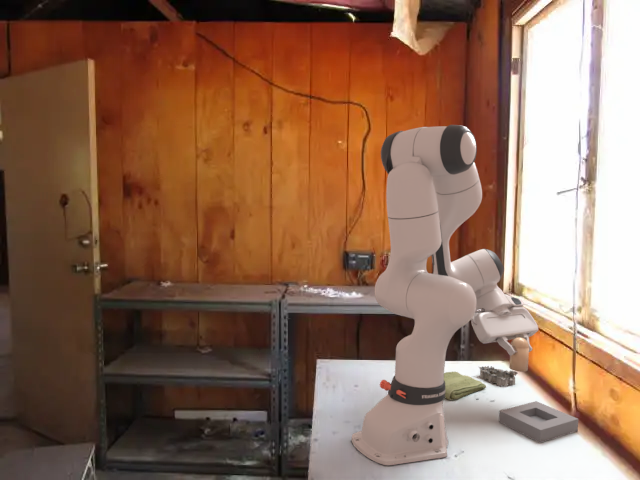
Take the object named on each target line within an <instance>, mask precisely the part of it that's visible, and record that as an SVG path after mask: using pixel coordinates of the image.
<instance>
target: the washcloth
mask: <svg viewBox="0 0 640 480" xmlns="http://www.w3.org/2000/svg"><path fill="white" fill-rule="evenodd" d="M444 381H445V391H446V392H445V398H444V399H446V400H448V401H455V400H458V399H462V398H463V397H467V396H468V395H471V394H474V393H475V392H478V391H482V390H483V389H486V388H487V385H486V384H485V383H483V382H482V381H480V380H477V379H475V378H473V377H472V376H469V375H466V374H465V375H464V374H462V373H460V372H458V371H446V372H444ZM466 395H467V396H466Z"/></svg>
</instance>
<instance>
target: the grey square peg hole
mask: <svg viewBox="0 0 640 480" xmlns="http://www.w3.org/2000/svg"><path fill="white" fill-rule="evenodd" d="M498 423H499V424H502V425H504V426H506V427H508V428H510V429H512V430H514V431H515V432H517V433H520V434H522V435H524V436H526V437H528V438H530V439H532V440H534V441H536V442H538V443H543V442H547V441H549V440H553V439H556V438H559V437H563V436H566V435H570V434H572V433H574V432H578V430H579V418H577V417H575V416H573V415H570V414H568V413H565V412H564V411H560V410H559V409H556V408H553V407H551V406H549V405H546V404H544V403H541V402H539V401H537V400H535V401H532V402H528V403H524V404H520V405H519V404H518V405H516V406H512V407H509V408H504V409H500V410H499V411H498Z"/></svg>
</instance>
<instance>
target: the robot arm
mask: <svg viewBox="0 0 640 480" xmlns="http://www.w3.org/2000/svg"><path fill="white" fill-rule="evenodd" d="M380 149H381V150H380V159H381V164H382V166H383V168H384V171H386V173H387V178H386V192H385V194H386V195H385V196H386V212H387V213H386V214H387V220H388V221H387V222H388V229H389V230H388V231H389V241H390V255H389V260H388V264H387V266H386V269H385V270H384V271H383V272H382V273H381V274H380V275H379V277H378V278H377V280H376V282H375V285H374V298H375V300H376V302H377V304H378V305H379V306H380V307H381V308H383V309H385V310H387V311H388V312H390V313H392V314H394V315H398V316H401V317H405V318H409V319H413V320H414V324H413V325H414V327H413V329H412V332H411V334H409V335H407V336H405V337H403V338H401V340H400V341H399V342H397V345H396V347H395V362H394V363H395V365H394V367H395V368H394V369H395V370H394V376H393V378H392V380H391V382H390V381H387V380H386V379H382V380H380V382H379V387H380V388H381V389H383V390H384V391H387V394H386V395H385V396H384V397H383V398H382V399H380V400H379V401H378V402H377V404H375V406H373V407H372V408H371V409H370V410H369V411H367V413H366V414H365V415H364V419H363V421H362V427H361V428H362V429H361V430H360V431H356V432H355V433H353V434H351V443H352V445H353V447H355V449H357V451H359V452H360V453H361V454H362V455H363V456H365V457H366V458H368V459H370V460H371V461H373V462H374V463H377V464H380V465H384V466H393V465H400V464H407V463H414V462H415V463H416V462H419V461H420V462H421V461H422V462H423V461H427V460H434V459H441V458H446V457H448V449H447V447H448V446H449V439H448V435H447V430H446V423H445V422H446V421H445V411H444V410H445V409H444V400H445V399H446V398H445V392H446V391H445V381H444V373H445V367H446V356H447V349H448V346H449V344H450V341H451V339H452V337H454V335H455V333H456V332H457V331H458V330H459V329H461V328H462V327H464V326H465V325H467V324H468V323H469V322H470V321H471V323H470V324H471V326H472V328H473V331H474V333H475V335H476V337H477V339H478V340H479V342H480V343H482V344H490V343H498V345H499V346H500V347H501V348H503V349H504V350H505V351H506V352H507V353H508V355H509V356H510V355H515V354H516V353H517V350H516V348H515V346H512V345H511V342H508V341H510V340H511V341H512V340H513V339H515V338H517V337H521V338H524V339H525V340H526V341H527V342H528V344H529V353H530V352H532V351H533V347H532V346H531V344H530V337H532V336H534V335H535V334H536V333H537V332H538V331H539V325H538V324H537V322H536V320H535V318H534V317H533V315H532V314H531V313H530V312H529V311H530V310H528V308H526V307H523V306H524V305H525V303H524V302H523V300H522V299H521V298H519V297H515V296H511V295H509V294H506V293H504V291H503V289H501V288H500V287H499V286H498V283H499V282H500V281H501V279H502V277H503V274H504V271H505V267H504V265H503V263H502V260H501V259H500V258H499V256H498V255H497V254H496V253H495V252H494V251H493V250H490V249H486V248H482V249H479V250H478V249H477V250H476V251H473V252H471V253H468V254H466V255H464V256H462V257H460V258H458V259H456V260H453V261H451V253H450V239H451V237H452V236H453V234H454V233H455V231H456V230H457V229H458V228H460V227H461V225H462V224H464V222H466V221H468V219H470V217H472V216H474V214H475V213H476V211H477V210H478V209H479V207H480V205H481V203H482V199H483V189H482V183H481V180H480V176H479V173H478V168H477V166H476V163H475V161H476V157H477V150H478V148H477V140H476V138H475V135H474V133H473V132H472V131H471V130H470V129H469V128H468V127H467V126H464V125H461V124H459V125H458V124H449V125H447V126H445V125H444V126H441V125H440V126H438V125H437V126H422V127H415V128H411V129H407V130H399V131H396V132H393V133H391V134H389V135H388V136H387V137H385V139H384V141H383V143H382V146H381V148H380ZM430 257H431V264H432V273H431V272H430V273H429V272H428V270H427V264H428V263H427V262H428V258H430Z"/></svg>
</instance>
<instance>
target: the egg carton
mask: <svg viewBox="0 0 640 480" xmlns="http://www.w3.org/2000/svg"><path fill="white" fill-rule="evenodd" d="M478 368H479V372H480V373H479V378H480V379H482V380H488V382H489V383H495V384H496V385H497V386H498V387H505V388H506V387H508V385H511V386H515V385H516V377H515V376H517V375H519V373H518V371H515V370H512V369H510V370H503V369H500V368H495V367H494V366H489V365H488V366H478Z"/></svg>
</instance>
